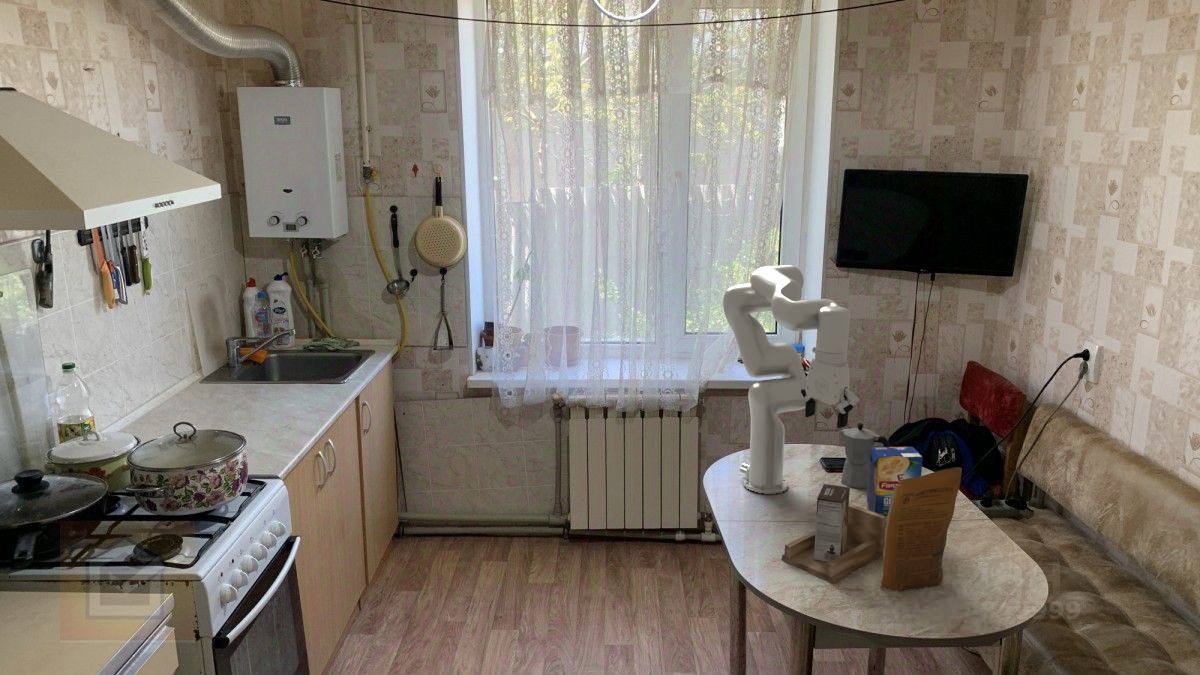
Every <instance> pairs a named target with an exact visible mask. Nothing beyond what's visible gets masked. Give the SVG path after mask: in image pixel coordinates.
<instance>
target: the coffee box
mask: <svg viewBox="0 0 1200 675" xmlns="http://www.w3.org/2000/svg"><path fill="white" fill-rule="evenodd" d="M850 490H851V487H849V486H841V485H834V484H827V483H826V484H825V483H823V485H822V487H821V489H820V491H819V494H818V495H817V498H816V514H815V515H816V517H815V530H816V531H815V549H814V559H815V560H820V561H825V562H831V561H832V560H834V559H836V558H838V557H840V556H841V555H843V554H844V552H845V549H846V541H847V526H848V510H849V503H850V495H851V494H850V492H851V491H850Z"/></svg>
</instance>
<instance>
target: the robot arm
mask: <svg viewBox="0 0 1200 675" xmlns="http://www.w3.org/2000/svg"><path fill="white" fill-rule="evenodd" d="M804 282H805V281H804V276H803V273H802V271H801V270H800V268H798V267H797V266H796V265H794V264H793V265H792V264H781V265H779V264H778V265H767V266H761V267H759V268H757V269H755V270H754V271H753V272H752V274H751V275H750V279H749V283H748V282H747V283H741V284H740V283H739V284H736V285H733V286H731V287H729V288H727V290H726V291H725V292H724V295H723V299H722V300H723V301H722V305H723V306H722V307H723V312H724V316H725V319H726V322H727V323H728V325H729V327H730V328H731V331H732V332H733V334H734V336H735V339H736V341H737V346H738V350H739V354H740V357H741V360H742V363H743V367H744V370H745V372H746V374H747V375H748V376H749V377H751V378H753V379H754V378H755V379H761V378H771V379H763V380H759V381H756V382H754V383H753V384H752V385H751V386H750V387H749V390H748V392H747V393H748V394H747V396H748V404H749V411H750V412H749V413H750V439H749V440H750V442H749V464H748V463H742V465H741V467H740V468H739V471H740V473H742V474H745V477H744V479H743V484H744V485H743V487H744V486H745V487H746V488H745V487H744V488H745V489H747V490H748V489H749V490H748V491H750V490H752V491H755V492H754V493H756V492H758V493H757V494H761V493H764V494H763V495H776V493H777V494H781V493H783V491H784V492H785V491H786V490H788V488H787V487H788V485H789V484H788V483H789V482H788V481H787V480H786V479H785V478H783V477H784V457H785V435H786V434H785V433H786V432H785V430H786V429H785V426H784V423H783V422H782V420H781V419H780V418H779V414H781V413H788V412H797V411H800V410H804V411H805V414H804V417H806V418H809V417H812V416H815V413H816V404H817V402H816V400H817V401H819V402H821V403H826V404H828V405H832V406H836V407H837V408H838V410H839V411H840V412H838V413H837V423H836V428H837V429H838V430H840V429H844V428H845V427H847V426H848V422H849V421H848V420H849V413H850V412H851V411H852V410H854V409H855V408H856V406H858V403H859V402H860V398H859V397H858V396H857V395H856V394H855V393H854V392H853V391H852V390H850V388H851V387H850V381H851V380H850V369H849V363H847V358H848V348H849V347H848V346H849V337H850V336H849V335H850V334H849V333H850V325H851V324H850V323H851V312H850V310H849V309H848V308H846V307H844V306H840V305H839V304H837V302H836V301H834V300H832V299H830V298H817V299H805V300H804V299H803V300H801V299H802V296H803V287H804ZM764 312H765V313H766V312H772V316H773V318H774V320H775V321H776V322H777V323H778V324H780V325H781V326H782V327H784V328H785V329H788V330H790V331H794V332H802V331H811V330H816V342H815V343H816V344H815V346H814V347H813V348H812V350H811V351H812V353H814V358H812V359H811V361H810V365H809V369H808V373H807V376H806V373H805V370H804V367H803V364H802V361H801V357H800V354H799V352H798V351H797V349H796V348H795V347H794V345H792V344H790V343H788V342H774V343H773V342H770V341H769V339H768V336H767V334H766V330H765V328H764V326H763V325H762V324H761V322H759V321H758V319H756V318H755V317H754V316H752V315H751V313H764ZM772 377H773V378H772ZM774 377H781V378H774ZM848 400H849V403H848ZM752 491H751V492H752Z"/></svg>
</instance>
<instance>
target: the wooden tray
mask: <svg viewBox="0 0 1200 675" xmlns="http://www.w3.org/2000/svg"><path fill="white" fill-rule="evenodd" d="M885 524H886V517H885V516H883V515H880V514H877V513H874V512H872V511H869V510H866V508H864V507H861V506H858V505H854V504H852V503H850V502H849V510H848V526H847V541H846V549H845V552H844V554H843V555H841V556H840V557H838V558H836V559H834V560H832V561H831V562H825V561H820V560H815V559H814V549H815V531H816V529H814V530H812V531H810V532H807V533H806V534H804V535H802V536H800V537H798V538H796V539H794V540H792V541H790V542H788V543H786V544H784V554H781V561H783V560H784V562H785V561H786V562H785V563H788V564H790V565H792V564H793V565H792V566H794V567H797V568H799V569H801V570H803V571H806V572H808V573H811V575H815V576H816V577H819V578H822V579H824V580H825V581H829V582H831V583H833V584H836V583H838V582H840V581H841V580H843V579H845V578H846V577H847V578H848V576H850V575H852V574H854V573H855V572H858V571H859V570H861V569H862V568H864V567H866V566H868V565H869V564H871V563H873V562H875V561H876V560H878V559H879V558H881V557H884V543H885V539H884V537H885Z"/></svg>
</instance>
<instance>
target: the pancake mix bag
mask: <svg viewBox="0 0 1200 675" xmlns="http://www.w3.org/2000/svg"><path fill="white" fill-rule="evenodd" d="M962 471H963V469H962V467H958V466H957V467H950V468H945V469H941V470H937V471H934V472H930V473H927V474H923V475H921V476H918V477H914V478H908V479H903V480H899V483H900V485H895V488H894V492H893V495H892V500H891V504H890V507H889V512H888V516H887V521H886V531H885V539H884V550H883V559H882V578H881V580H882V581H881V583H880V584H881V585H880V588H881V589H883V590H884V589H885V590H887V591H891V592H906V591H911V590H917V589H923V588H929V587H935V586H940V585H941V584H942V583H943V580H944V572H943V558H944V553H945V549H946V546H947V538H948V529H949V527H950V524H951V521H952V519H953V516H954V513H955V506H956V500H957V496H958V493H959V491H960V487H961V486H960V485H961V479H962Z"/></svg>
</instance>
